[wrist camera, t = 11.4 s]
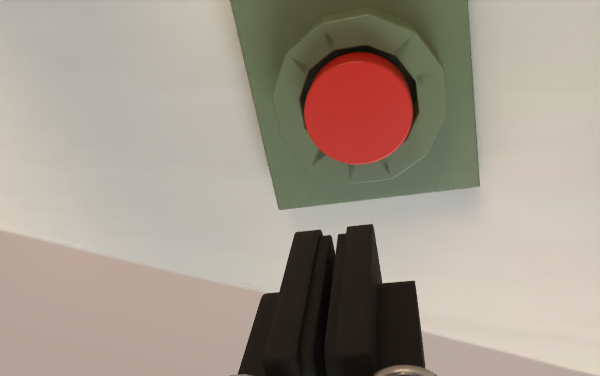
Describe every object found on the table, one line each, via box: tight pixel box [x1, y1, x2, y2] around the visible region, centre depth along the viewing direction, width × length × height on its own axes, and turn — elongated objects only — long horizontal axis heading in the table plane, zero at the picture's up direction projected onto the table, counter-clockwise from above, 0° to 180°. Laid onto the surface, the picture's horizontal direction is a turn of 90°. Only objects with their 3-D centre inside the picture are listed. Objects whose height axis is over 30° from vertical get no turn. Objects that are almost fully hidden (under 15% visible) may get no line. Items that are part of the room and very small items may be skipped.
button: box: [304, 52, 413, 165], centre depth 23 cm, size 4×4×2 cm
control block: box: [230, 0, 480, 210], centre depth 25 cm, size 11×10×4 cm
